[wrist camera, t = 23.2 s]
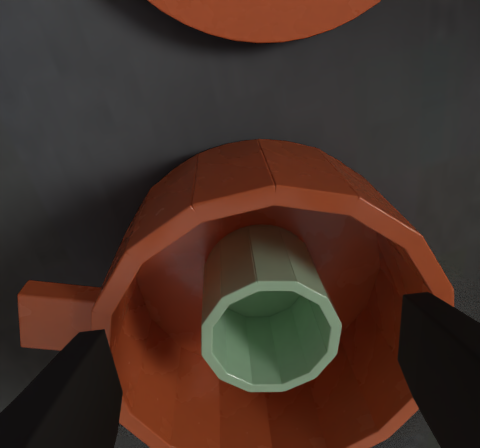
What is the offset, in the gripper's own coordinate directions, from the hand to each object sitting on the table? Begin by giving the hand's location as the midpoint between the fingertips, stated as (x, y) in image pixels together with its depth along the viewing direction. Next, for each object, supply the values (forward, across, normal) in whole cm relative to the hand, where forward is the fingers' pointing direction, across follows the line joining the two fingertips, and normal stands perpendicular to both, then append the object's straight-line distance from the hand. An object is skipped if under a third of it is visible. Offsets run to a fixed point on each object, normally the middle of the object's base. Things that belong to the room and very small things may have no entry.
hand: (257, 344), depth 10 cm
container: (+10, -1, +4) cm, 11 cm away
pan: (+10, -1, +4) cm, 11 cm away
